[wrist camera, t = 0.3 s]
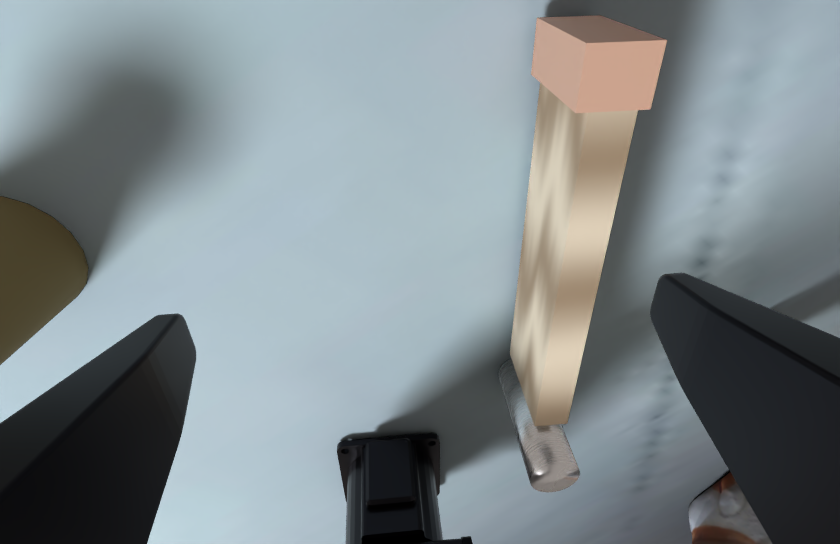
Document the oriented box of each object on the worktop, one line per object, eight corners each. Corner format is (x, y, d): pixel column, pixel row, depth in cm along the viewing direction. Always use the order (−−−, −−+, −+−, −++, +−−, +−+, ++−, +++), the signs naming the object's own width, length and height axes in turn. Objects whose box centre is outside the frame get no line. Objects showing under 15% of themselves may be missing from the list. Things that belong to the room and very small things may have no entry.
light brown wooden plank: (544, 351, 28) (575, 422, 24) (502, 354, 28) (526, 427, 24) (600, 15, 19) (667, 40, 14) (536, 17, 18) (586, 43, 14)
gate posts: (766, 343, 30) (860, 441, 25) (499, 388, 30) (530, 496, 25) (776, 313, 29) (879, 408, 23) (497, 360, 29) (529, 467, 23)
